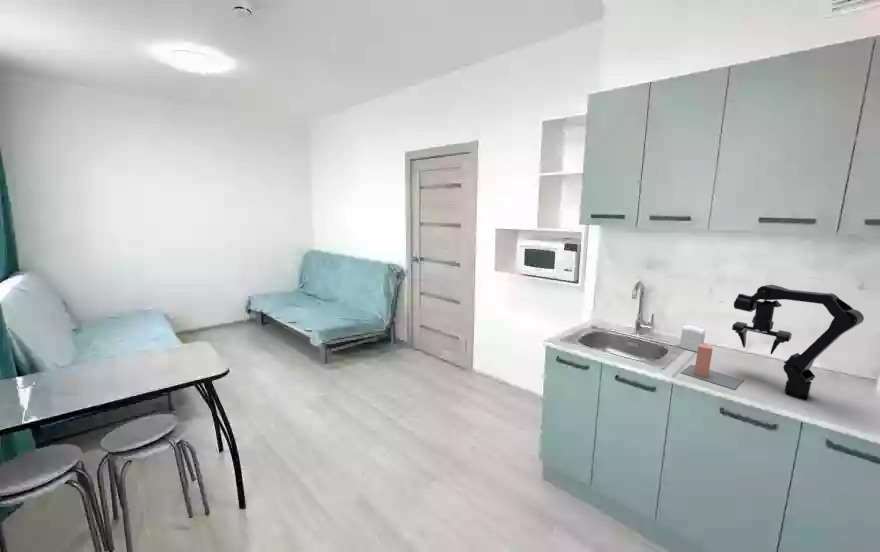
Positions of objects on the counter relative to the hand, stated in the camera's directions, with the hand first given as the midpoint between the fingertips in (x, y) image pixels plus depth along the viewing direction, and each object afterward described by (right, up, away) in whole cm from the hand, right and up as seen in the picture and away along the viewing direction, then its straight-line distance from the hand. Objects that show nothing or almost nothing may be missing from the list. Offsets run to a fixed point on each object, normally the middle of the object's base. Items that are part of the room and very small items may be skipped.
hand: (757, 350), depth 167 cm
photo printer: (-6, -6, +35) cm, 36 cm away
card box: (-20, -11, +6) cm, 24 cm away
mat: (-16, -12, +5) cm, 21 cm away
